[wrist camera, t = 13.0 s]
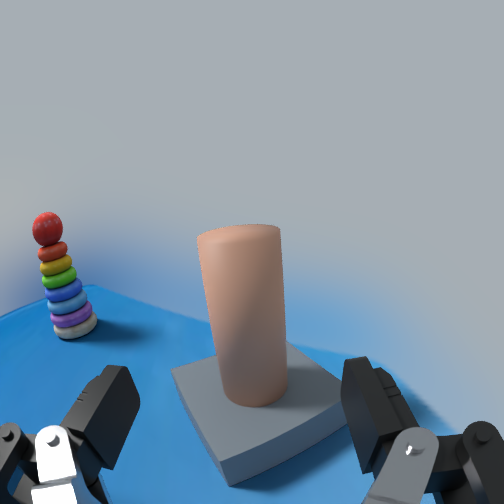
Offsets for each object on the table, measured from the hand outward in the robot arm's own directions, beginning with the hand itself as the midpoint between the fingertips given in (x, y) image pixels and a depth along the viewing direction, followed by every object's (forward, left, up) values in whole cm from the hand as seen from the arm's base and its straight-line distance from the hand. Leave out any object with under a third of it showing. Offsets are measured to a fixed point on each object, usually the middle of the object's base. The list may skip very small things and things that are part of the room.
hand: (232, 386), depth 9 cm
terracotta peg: (+5, +8, -8) cm, 12 cm away
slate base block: (+5, +8, -12) cm, 15 cm away
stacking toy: (-13, +35, -13) cm, 40 cm away
